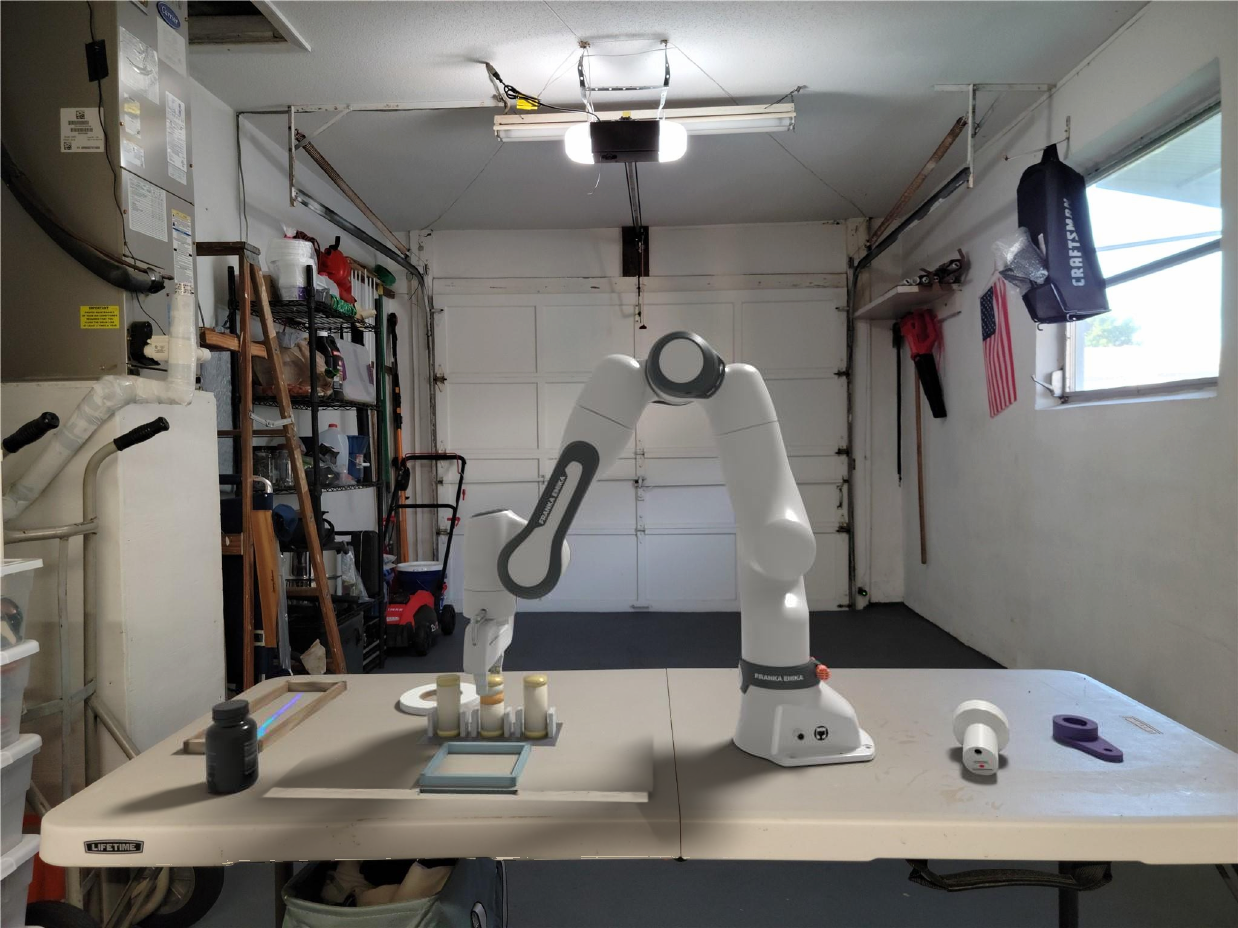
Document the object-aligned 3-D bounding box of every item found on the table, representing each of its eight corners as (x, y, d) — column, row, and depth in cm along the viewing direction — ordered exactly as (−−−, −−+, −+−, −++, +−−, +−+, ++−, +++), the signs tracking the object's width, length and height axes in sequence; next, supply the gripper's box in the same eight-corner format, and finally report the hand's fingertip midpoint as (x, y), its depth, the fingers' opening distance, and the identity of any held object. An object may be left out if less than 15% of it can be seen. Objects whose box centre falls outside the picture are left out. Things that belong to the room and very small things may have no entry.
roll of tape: (404, 698, 140) (404, 684, 140) (481, 692, 143) (481, 678, 143) (395, 726, 125) (394, 710, 125) (481, 719, 128) (480, 703, 128)
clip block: (563, 729, 122) (562, 699, 121) (554, 753, 112) (554, 721, 112) (435, 728, 123) (435, 699, 123) (416, 751, 113) (415, 720, 113)
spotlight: (1014, 743, 110) (1002, 696, 109) (1017, 787, 100) (1004, 736, 99) (959, 743, 114) (947, 698, 113) (957, 785, 104) (944, 736, 103)
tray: (531, 758, 110) (531, 742, 110) (516, 794, 98) (515, 776, 98) (445, 757, 110) (445, 741, 110) (419, 793, 98) (419, 775, 98)
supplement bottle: (247, 770, 107) (246, 693, 107) (266, 782, 103) (265, 702, 103) (198, 786, 102) (197, 705, 102) (216, 800, 97) (215, 715, 97)
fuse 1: (463, 728, 119) (463, 673, 119) (457, 737, 115) (456, 681, 115) (441, 728, 120) (440, 673, 120) (433, 737, 116) (433, 681, 116)
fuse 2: (549, 728, 119) (548, 674, 119) (545, 738, 115) (544, 681, 115) (526, 728, 119) (525, 673, 119) (521, 738, 115) (521, 681, 115)
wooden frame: (346, 689, 145) (346, 680, 145) (259, 753, 113) (259, 742, 113) (287, 688, 146) (286, 680, 146) (183, 752, 114) (183, 741, 114)
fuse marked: (506, 728, 119) (505, 673, 119) (501, 737, 115) (500, 681, 115) (483, 728, 119) (482, 673, 119) (477, 737, 115) (476, 681, 115)
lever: (1044, 733, 117) (1043, 715, 117) (1078, 731, 118) (1078, 713, 118) (1098, 764, 105) (1098, 743, 105) (1137, 762, 106) (1136, 741, 106)
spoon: (257, 746, 117) (256, 739, 117) (232, 747, 117) (232, 740, 117) (314, 697, 142) (314, 691, 142) (294, 697, 142) (294, 692, 142)
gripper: (493, 617, 107) (493, 706, 107) (519, 593, 127) (519, 667, 127) (453, 617, 107) (453, 705, 107) (485, 592, 127) (485, 667, 127)
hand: (489, 684), depth 117 cm, fingers open, 8 cm apart
